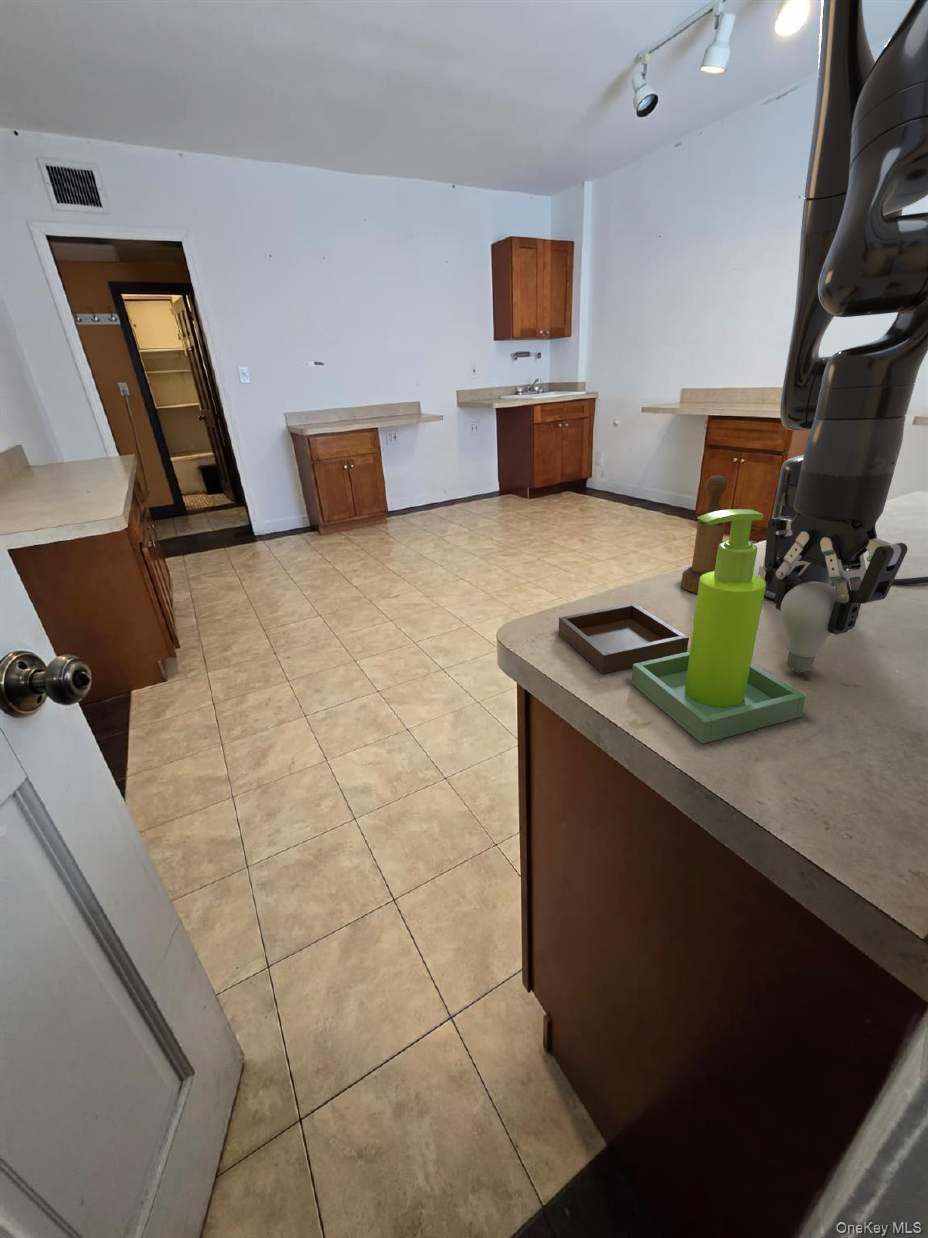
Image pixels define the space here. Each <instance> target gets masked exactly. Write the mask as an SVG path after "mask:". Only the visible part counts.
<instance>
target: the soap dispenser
mask: <svg viewBox="0 0 928 1238" xmlns="http://www.w3.org/2000/svg"><path fill="white" fill-rule="evenodd" d="M763 517H764V513H762V512H759V511H756V510H754V509H746V508H745V509H743V508H741V509H739V508H738V509H735V508H734V509H721V511H715V512H711V513H708V514H706V513H705V514H702V515H699V516H697V517H696V519H697V521H698V520H700V521H701V522H703V523H705V524H707V525H710V526H711V525H715V524H718V523H722V522H726V523H727V522H731V525H730V529H729V530H730V531H729V537H728V539H727V540H725V541H722V543H720V544H719V546H718V552H717V558H716V565H715V571H713V572H708V573H705V574H703V575H702V576H701V577H700V581H699V588H698V593H697V596H696V604H695V611H694V619H693V624H692V625H693V627H692V633H691V640H690V649H689V651H690V655H689V662H688V670H687V677H686V685H685V690H686V692H687V694H688V695H689V696H690V697H692V698H693V699H694V700H696V701H698V702H700V703H703V704H706V705H710V706H715V707H731V706H735V705H738V704H740V703H741V702H742V701H743V700H744V696H745V691H746V686H747V681H748V676H749V670H750V665H751V663H752V660H753V654H754V651H755V644H756V640H757V639H756V638H757V634H758V629H759V624H760V618H761V612H762V608H763V603H764V597H765V596H764V593H765V588H766V582H765V581H764V580H763V579H762V578H761V577H760V576H759V575H755V574H754V570H755V565H756V559H757V555H758V546H757V545H756V544H753V542H751V541H750V536H751V530H752V524H753V521H763V520H764V519H763Z"/></svg>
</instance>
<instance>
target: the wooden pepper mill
mask: <svg viewBox="0 0 928 1238" xmlns="http://www.w3.org/2000/svg"><path fill="white" fill-rule="evenodd" d="M727 489H728V480H727V479H726V477H725V476H723V475H711V476H710V477H708V479H707V480H706V481H705V485H704V490H705V491H706V494H707V496H708V502H707V504H706V505H705V508H704V509H705V514H708V513H711V512H715V511H721V510H722V507H723V506H722V505H721V504H720V501H721V497H722V496H723V495H724V493H725V492H726V490H727ZM726 523H727V522H722V523H718V524H715V525H711V526H710V525H707V524H705V523H703V522H701V521H700V520H698V519H697V524H696V532H695V533H696V534H695V542H694V549H693V556H692V561H691V566H689V567H688V568H687V569H685V570H683V572H682V575H681V581H680V584H681V585H680V586H681V588H682V589H683V590H685V591H686V592H687V591H688V592H690V593H693V594H698V588H699V581H700V577H701V576H702V575H703V574H705V573H708V572H713V571H715V565H716V558H717V552H718V546H719V544H720V543H723V542H724V541H723V540H724V536H725V535H724V534H725V530H726V525H727V524H726Z"/></svg>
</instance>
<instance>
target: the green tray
mask: <svg viewBox="0 0 928 1238" xmlns="http://www.w3.org/2000/svg"><path fill="white" fill-rule="evenodd" d="M689 655H690V650H689V651H687V652H685V653H680V654H676V655H671V656H667V657H662V658H658V659H653V660H649V661H644V662H640V663H635V664H633V667H632V670H631V685H632V686H634V687H635V688H636V689H638V690H639V691H640V692H641V693H642V694H643V695H644V696H645V697H647V699H649V700H650V701H651V702H653V704H654V705H656V706H657V707H658V708H659V709H661V710H662V712H664V713H665V714H667V715H668V716H669V717H670V718H671V719H672V720H673V721H674V722H676V723H677V724H678V725H679V726H680V727H681V728H683V729H684V731H686V732H687V733H688V734H690V735H691V736H692V737H693V738H694V739H695V740H697V741H698V743H700V744H706V743H711V742H714V741H715V742H716V741H718V740H721V739H726V738H729V737H732V736H736V735H740V734H744V733H748V732H751V731H755V730H758V729H762V728H765V727H769V726H773V725H776V724H780V723H784V722H787V721H791V720H795V719H798V718H801V717H802V715H803V711H804V707H805V703H806V700H807V695H806V694H804V693H803V692H801V691H800V690H798V689H796V688H794V687H793V686H791V685H790V684H788V683H786V682H784V681H783V680H781V679H779V678H777V677H776V676H774V675H772V674H771V673H769V672H767V671H766V670H764V669H762V668H760V667H759V666H757V665H755V664H754V663H752V662H751V665H750V670H749V676H748V681H747V686H746V691H745V696H744V700H743V701H742V702H741V703H740V704H738V705H735V706H731V707H715V706H710V705H706V704H703V703H700V702H698V701H696V700H694V699H693V698H692V697H690V696H689V695H688V694H687V692H686V690H685V685H686V677H687V670H688V662H689Z"/></svg>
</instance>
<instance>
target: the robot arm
mask: <svg viewBox="0 0 928 1238" xmlns="http://www.w3.org/2000/svg"><path fill="white" fill-rule="evenodd" d="M818 55H819V56H818V69H817V70H818V71H817V84H816V85H817V86H816V98H815V107H814V116H813V127H812V135H811V141H810V148H809V149H810V150H809V157H808V166H807V173H806V180H805V188H804V196H803V197H804V198H803V205H802V214H801V215H802V217H801V225H800V239H799V241H800V242H799V254H798V270H797V283H796V296H795V305H794V314H793V323H792V327H791V335H790V341H789V345H788V346H789V347H788V354H787V359H786V365H785V371H784V377H783V383H782V389H781V396H780V408H779V411H780V412H779V413H780V414H779V415H780V421H781V425H782V427H784V428H785V429H786V430H789V431H795V432H796V431H797V432H798V431H799V432H802V431H803V432H808V431H809V433H808V436H807V440H806V442H805V447H804V452H803V454H801V455H798V456H794V457H791V458H788V459H786V460H785V461H784V462H783V463H782V465H781V468H780V471H779V477H778V482H777V488H776V493H775V494H776V495H775V499H774V505H773V509H772V514H771V518H770V519H768V521H767V527H766V540H765V551H764V552H765V553H764V558H763V563H762V565H761V564H759V566H758V571H757V572H758V576H759V577H760V578H762V579H763V580H764V581H765V582H766V588H765V593H764V597H765V598H768V599H771V600H773V601H774V604H775V609H776V610H777V611H780V612H781V608H780V607H781V603H782V600H783V598H784V596H785V595H786V594H787V593H788V592H789V591H790V590H791V589H792V588H794V587H795V586H797V585H800V584H802V583H806V582H823V583H826V584H829V585H831V586H833V587H835V589H836V594H837V599H838V600H837V601H835V603H834V606H833V610H832V614H831V618H830V622H829V626H828V632H830V633H832V634H833V635H835V636H836V635H841V634H842V635H843V634H846V633H848V632H849V631H851V630H853V629H854V628H855V627H856V624H857V620H858V617H859V612H860V609H861V605H862V604H867V603H872V602H877V601H881V600H884V599H886V598H887V596H888V594H889V591H890V590H891V587H892V586H903V585H916V584H917V585H918V584H927V583H928V576H919V577H905V578H896V576H897V574H898V572H899V570H900V568H901V565H902V563H903V561H904V560H905V557H906V555H907V553H908V549H909V548H908V545H907V544H906V543H904V542H897V543H896V542H895V543H890V542H888V541H885V540H882V539H879V538H878V535H877V531H876V530H877V529H876V525H877V522H878V520H879V519H880V517H881V516H882V514H883V513H884V510H885V507H886V502H887V499H888V495H889V492H890V488H891V485H892V482H893V477H894V473H895V469H896V466H897V462H898V459H899V455H900V453H901V448H902V444H903V440H904V430H905V422H906V418H907V417H906V415H907V414H908V410H909V407H910V403H911V400H912V395H913V393H914V389H915V385H916V381H917V377H918V374H919V371H920V368H921V365H922V363H923V362H924V359H925V358H926V355H927V353H928V211H926V212H925V211H924V212H918V213H908V214H903V211H904V210H903V209H905V208H907V207H910V206H912V205H914V204H915V203H918V202H919V201H921V200H922V199H924V198H926V197H927V196H928V0H913V2H912V3H911V5H910V7H909V8H908V10H907V11H906V13H905V15H904V16H903V18H902V20H901V21H900V23H899V24H898V25H897V27H896V29H895V30H894V32H893V33H892V35H891V36H890V38H889V39H888V41H887V43H886V44H885V46H884V48H883V49H882V50H881V52H880V54H879V56H878V57H877V59H876V60H875V58H874V54H873V51H872V49H871V47H870V43H869V40H868V36H867V32H866V27H865V18H864V9H863V0H821V16H820V34H819V51H818ZM884 314H885V315H886V314H897V315H896V317H895V319H894V321H893V322H892V324H891V325H890V326H889V327H888V329H887V330H886V331H885V333H884V334H883V335H882V336H880V337H879V338H878V339H875V340H873V341H871V342H867V343H864V344H863V343H862V344H860V345H856V346H852V347H849V348H845V349H842V350H839V351H838V352H835V353H834V354H833V355H831V356H820V347H821V344H822V340H823V338H824V336H825V333H826V331H827V330H828V328H829V326H830V324H831V323H832V321H833V319H834V318H835V317H836V318H853V317H864V316H875V315H884ZM867 552H868V556H867V557H866V562H868V566H866V562H865V557H864V554H865V553H867ZM832 634H831V635H832Z"/></svg>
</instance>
